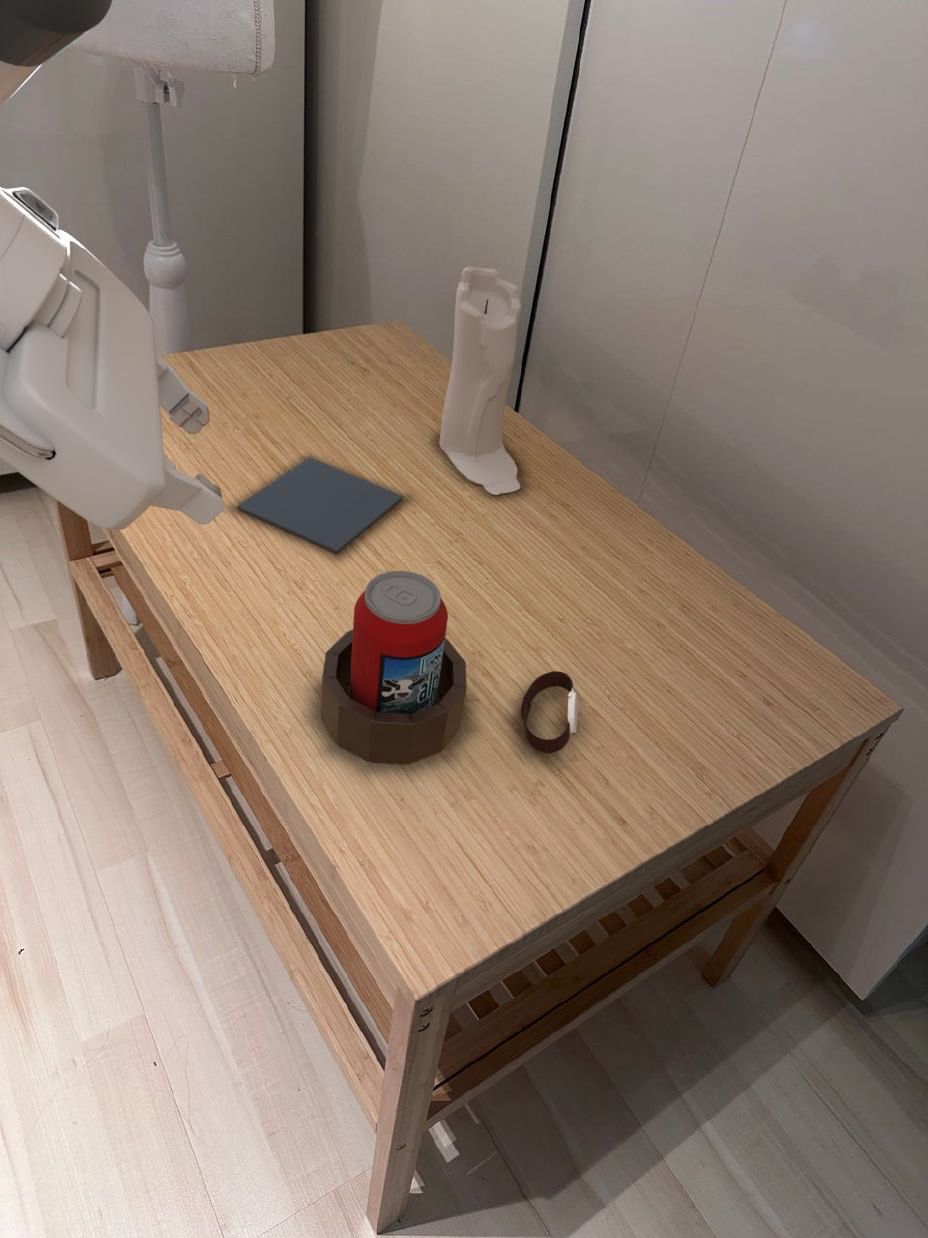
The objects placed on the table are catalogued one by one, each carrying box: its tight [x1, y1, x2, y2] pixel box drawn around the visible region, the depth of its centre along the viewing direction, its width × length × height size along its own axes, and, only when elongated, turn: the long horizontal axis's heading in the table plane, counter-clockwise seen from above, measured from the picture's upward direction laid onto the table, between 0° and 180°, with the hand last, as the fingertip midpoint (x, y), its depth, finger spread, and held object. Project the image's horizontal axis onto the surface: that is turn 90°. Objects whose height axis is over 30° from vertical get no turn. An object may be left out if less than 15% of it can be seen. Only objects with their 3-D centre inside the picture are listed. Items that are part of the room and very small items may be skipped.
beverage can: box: [349, 570, 449, 714], centre depth 65 cm, size 7×7×12 cm
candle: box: [439, 266, 522, 496], centre depth 92 cm, size 7×14×20 cm, turn 24°
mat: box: [236, 457, 404, 555], centre depth 88 cm, size 12×12×1 cm
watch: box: [520, 670, 579, 754], centre depth 68 cm, size 8×5×4 cm, turn 170°
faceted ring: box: [320, 629, 467, 765], centre depth 67 cm, size 11×11×4 cm
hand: (208, 462), depth 50 cm, fingers open, 8 cm apart
